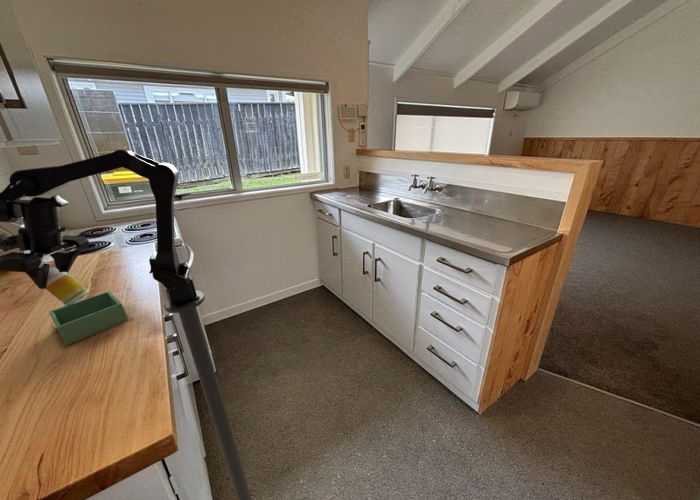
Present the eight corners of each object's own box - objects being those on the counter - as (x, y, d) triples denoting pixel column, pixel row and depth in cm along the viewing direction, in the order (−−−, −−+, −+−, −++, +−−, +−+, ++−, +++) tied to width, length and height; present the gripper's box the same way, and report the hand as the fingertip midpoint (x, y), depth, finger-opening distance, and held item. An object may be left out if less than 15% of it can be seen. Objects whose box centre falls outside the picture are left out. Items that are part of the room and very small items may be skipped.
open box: (115, 306, 82) (109, 290, 80) (128, 319, 75) (121, 303, 73) (57, 328, 73) (48, 311, 71) (65, 345, 66) (56, 328, 64)
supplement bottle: (91, 290, 73) (57, 262, 70) (68, 305, 69) (31, 276, 66) (89, 293, 77) (57, 266, 73) (67, 307, 73) (32, 280, 70)
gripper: (39, 211, 74) (49, 266, 79) (-47, 229, 56) (-28, 298, 61) (87, 217, 76) (94, 270, 80) (17, 235, 58) (31, 302, 63)
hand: (52, 283), depth 71 cm, fingers closed on supplement bottle, 5 cm apart
